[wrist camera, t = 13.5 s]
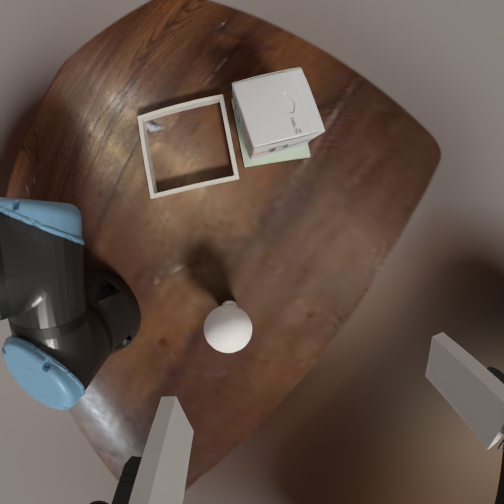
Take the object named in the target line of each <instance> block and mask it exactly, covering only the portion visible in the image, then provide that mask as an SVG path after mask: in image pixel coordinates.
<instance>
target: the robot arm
mask: <svg viewBox="0 0 504 504" xmlns="http://www.w3.org/2000/svg"><path fill="white" fill-rule="evenodd" d="M83 245H84V240H83V239H82V218H81V213H80V211H79V209H78V208H77V207H76V206H74V205H72V204H69V203H61V202H52V201H42V200H31V199H19V198H3V197H0V320H3V319H7V318H8V320H9V324H10V329H11V332H12V336H11V337H8V338H6V340H5V343H4V344H3V348H2V355H3V359H4V361H5V364H6V366H7V368H8V370H9V372H10V373H11V375H12V376H13V377H14V379H15V380H16V381H17V382H18V384H19V385H20V386H21V387H22V388H23V389H24V390H25V391H26V392H27V393H28V394H29V395H31V396H32V397H33V398H35V399H36V400H38V401H39V402H41V403H43V404H44V405H46V406H49V407H51V408H54V409H59V410H60V409H61V410H65V409H69V408H71V407H72V406H73V405H74V404H75V403H76V402H77V401H78V400H79V398H80V397H82V396H83V395H84V394H85V390H86V389H87V387H88V386H89V384H90V383H91V381H92V380H93V378H94V377H95V375H96V374H97V372H98V371H99V369H100V368H101V366H102V365H103V364H104V362H105V361H106V359H107V358H108V356H109V355H111V354H113V353H115V352H117V351H119V350H121V349H123V348H125V347H126V346H128V345H129V344H130V343H131V342H132V340H133V339H134V337H135V336H136V334H137V333H138V330H139V327H140V321H141V316H140V310H139V306H138V303H137V300H136V298H135V296H134V295H133V293H132V291H131V290H130V289H129V287H128V286H127V285H126V284H125V283H124V282H123V281H122V280H121V279H119V278H118V277H117V276H115V275H113V274H111V273H109V272H107V271H103V270H89V271H86V272H84V260H83ZM425 376H426V377H427V378H428V380H429V381H430V382H431V383H432V384H433V385H434V386H435V388H436V389H437V390H438V391H439V392H440V393H441V394H442V396H443V397H444V398H445V399H446V400H447V401H448V403H449V404H450V405H451V406H452V407H453V408H454V410H455V411H456V412H457V413H458V414H459V415H460V417H461V418H462V419H463V420H464V421H465V423H466V424H467V425H468V426H469V427H470V429H471V430H472V431H473V433H474V434H475V435H476V436H477V438H478V439H479V440H480V441H481V443H482V444H483V445H484V446H485V448H486V449H487V450H488V449H489V448H490V447H492V446H493V445H494V444H495V443H497V442H498V441H499V439H500V437H501V436H502V434H503V433H504V374H503V373H502V372H500V371H499V370H498V369H495V368H492V367H489V368H487V369H486V368H485V367H484V366H483V365H482V364H480V363H479V362H478V361H477V360H476V359H475V358H473V357H472V356H471V355H470V354H469V353H467V352H466V351H465V350H464V349H463V348H461V347H460V346H459V345H458V344H457V343H455V342H454V341H453V340H452V339H450V338H449V337H448V336H447V335H445V334H444V333H443V332H442V333H440V334H438V335H435V336H433V337H432V341H431V348H430V354H429V360H428V365H427V370H426V375H425ZM193 432H194V431H193V429H192V427H191V426H190V424H189V422H188V420H187V418H186V416H185V414H184V412H183V410H182V408H181V406H180V404H179V402H178V399H177V397H176V396H174V397H162V398H161V401H160V404H159V407H158V409H157V412H156V416H155V419H154V422H153V425H152V428H151V431H150V434H149V437H148V440H147V443H146V446H145V450H144V453H143V456H142V457H135V456H132V457H131V458H130V459H129V460H128V461H127V462H126V463H125V465H124V468H123V471H122V475H121V477H120V482H119V483H118V486H117V489H116V492H115V495H114V498H113V501H112V504H182V503H183V497H184V490H185V483H186V476H187V470H188V463H189V457H190V450H191V444H192V438H193ZM502 446H503V449H502V450H503V457H502V465H501V473H500V480H499V486H498V491H497V496H496V501H495V504H504V439H503V441H502V443H501V444H500V446H499V447H498V450H500V449H501V447H502ZM90 504H108V503H106V502H104V501H94V502H92V503H90Z"/></svg>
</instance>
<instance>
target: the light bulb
mask: <svg viewBox="0 0 504 504" xmlns="http://www.w3.org/2000/svg"><path fill="white" fill-rule="evenodd" d="M204 335H205V337H206V340H207V341H208V343H209V344H210V345H211V346H212V347H213V348H214V349H216V350H218V351H220V352H224V353H233V352H236V351H239V350H241V349H242V348H244V347H245V346H246V345H247V343H248V342H249V340H250V338H251V335H252V324H251V321H250V319H249V317H248V315H247V314H246V313H245V312H244V311H243V310H241V309H240V308H239V307H238V304H237V303H236V302H234V301H225V302H224V303H223V304H222V305H221V306H220V307H218V308H216V309H214V310H213V311H211V312H210V314H209V315H208V316H207V318H206V320H205V323H204Z"/></svg>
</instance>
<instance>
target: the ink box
mask: <svg viewBox="0 0 504 504" xmlns="http://www.w3.org/2000/svg"><path fill="white" fill-rule="evenodd" d="M232 91H233V104H234V112H235V114H236V117H237V120H238V124H239V127H240V130H241V133H242V136H243V139H244V142H245V145H246V148H247V151H248V155H249V158H250V159H251V160H252V159H256V158H260V157H264V156H267V155H271V154H275V153H278V152H282V151H286V150H289V149H293V148H297V147H301V146H303V145H304V144H306V143H307V142H309V141H310V140H312V139H313V138H315V137H316V136H318V135H320V134H321V133H323V132H324V131H325V129H324V126H323V123H322V120H321V117H320V115H319V112H318V109H317V106H316V103H315V101H314V98H313V95H312V93H311V90H310V88H309V85H308V82H307V80H306V78H305V75H304V73H303V71H302V69H301V68H300V67H298V68H292V69H287V70H282V71H277V72H272V73H268V74H263V75H259V76H255V77H251V78H247V79H244V80H240V81H237V82H233V83H232Z"/></svg>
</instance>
